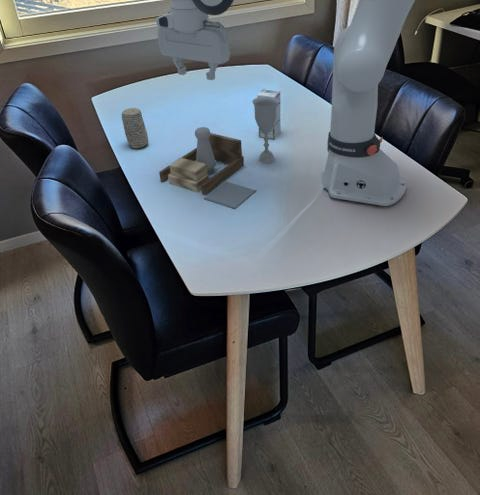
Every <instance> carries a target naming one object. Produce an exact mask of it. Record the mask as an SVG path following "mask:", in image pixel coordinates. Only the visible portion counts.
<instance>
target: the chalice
mask: <svg viewBox="0 0 480 495" xmlns="http://www.w3.org/2000/svg"><path fill="white" fill-rule="evenodd" d="M251 103H252V104H253V106H254V109H253V110H254V119H255V122H256V124H257V126H258V130H259V129H260V130H261V132H262V133H264V135H265V136H264V138H263V142H264V144H263V146H264V150H263V151H262V152H261V153H260V155H259V156H258V157H259V158H258V160H257V161H258V162H259V164H263V165H269V164H272V163H274V162H275V161H276V158H275V156H274V153H273V152H272V151H271V150H269V147H270V143H269V140H270V139H269V138H268V133H270V132H271V130H272V128H273V126H274V124H275V121H276V105H277V103H278V100H277V99H276V98H273V97H259V98H257V97H256V98H254V99H253V100H252V102H251Z"/></svg>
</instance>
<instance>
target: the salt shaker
mask: <svg viewBox="0 0 480 495" xmlns="http://www.w3.org/2000/svg"><path fill="white" fill-rule="evenodd" d="M210 133H211V130H210V128H208V127H206V126H200V127H197V128H196V129H195V130H194V136H195V139H197V140H196V142H197V143H196V148H197V154H196V162H200V163H205V164H206V166H207V174H208V175H209V174H211V173H214V170H215V167H216V165H217V161H216V160H215V158H214V154H213V151H212V148H211V144H210V141H209V137H210Z"/></svg>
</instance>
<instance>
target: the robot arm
mask: <svg viewBox="0 0 480 495" xmlns="http://www.w3.org/2000/svg"><path fill="white" fill-rule="evenodd" d="M235 1H236V0H170V3H169V6H170V11H169V12H167V13H165V14H162V15H160V16H157V17H156V18H155V22H156V26H157V27H158V29H157V41H158V47H159V51H160V53H161V54H162V56H164V57H165V56H166V57H171V58H172V61H173V63H174V65H175V67H176V68H177V74H178V75H180V76H181V75H182V76H184V75H186V74H187V67H186V66H185V65H184V64H183V62H182V59H184V60H190V61H196V62H202V63H208V67H209V68H210V69H209V71H207V72H206V73H205V75H206V80H209V81H213V80H215V79H216V71H217V68H218V66H219V65H223V64H225V63H227V62H228V61H229V60H230V57H231V55H230V54H231V52H230V45H229V41H228V36H227V29H226V27H225V26H224V25H223V24H222V23H221V22H220V21H211V20H210V19H209V16H220V15H222V14H224V13H225V12H227V11H228V10H229V9H230V7H231V6H232V5H233V3H234V2H235ZM415 1H416V0H358V2H357V6H356V9H355V10H354V14H353V17H352V19H351V22H350V24H349V25H348V26H346V27H344V29H343V30H342V31H341V32H340V34H339V35H338V37H337V38H336V40H335V43H334V47H333V61H332V62H333V64H332V65H333V67H332V88H331V89H332V90H331V91H332V92H331V115H330V131H329V132H328V136H327V143H326V144H327V148H326V149H327V157H326V158H327V160H326V163H325V166H324V167H325V168H324V171H323V174H322V177H321V183H322V185H323V187H324V189H325V190H327V191H328V195H329V197H331V198H334V199H338V200H339V199H340V200H346V201H351V202H358V203H364V204H369V205H375V206H376V205H377V206H383V207H388V206H391V205H394V204H395V203H397V202H398V201H400V199H402V197H403V196H404V195H405V193H406V190H407V182H406V180H405V179H404V178H402V177H401V178H400V172H399V166H398V164H397V163H396V162H395V161H394V160H393V159H392V158H390V157H389V155H388V154H386V153H385V152H384V151H383V150H382V149H381V144H382V142H383V136H381V138H378V137H377V135H376V133H375V128H376V127H375V126H376V121H377V120H376V119H377V111H378V98H379V97H378V94H379V92H378V91H379V83H381V81H382V79H383V77H384V74H385V71H386V68H387V66H388V63H389V61H390V59H391V57H392V54H393V52H394V49H395V47H396V45H397V42H398V39H399V38H400V34H401V32H402V30H403V26H404V24H405V21H406V19H407V17H408V15H409V12H410V10H411V9H412V7H413V4H414V3H415Z"/></svg>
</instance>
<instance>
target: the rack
mask: <svg viewBox="0 0 480 495" xmlns="http://www.w3.org/2000/svg"><path fill="white" fill-rule="evenodd" d="M209 141H210V144H211V148H212V151H213V154H214V158H215V161H216V162H221V163H224V164H227V165H226V166H224V167H223V168H222V169H221V170H219V171H218V172H216V173H215V174H214V175H213V176H211V177H209V179H208V180H207V181H205V182H204V183H203V184H201V188H202V189H201V195H203V196H207V195H209V194H210V193H211V192H212V191H214V190H215V189H216V187H217V188H218V187H219V186H220V185H222V184H223V183H224V182H226V181H227V180H228V179H229V178H230V177H231V176H232V175H234V174H235V173H237V172H238V171H239V170H240V169H242V168H243V167H244V166H245V159H244V156H243V152H242V151H243V150H242V149H243V148H242V139H239V138H233V137H229V136H226V135H225V136H224V135H220V134H216V133H212V132H210V137H209ZM196 154H197V147H195V148H193V149H192V150H191V151H189V152H188V153H186V154H184V155H183V156H182V157H180V158H184V159H188V160H192V161H196ZM158 174H159V178H160V179H159V180H160V182H161V183H164V182H166V181H167V180H169V179H168V175H169V174H171V172H170V166H169V165H167V166H166V167H165V168H163V169H161V170H160V171H158Z"/></svg>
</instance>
